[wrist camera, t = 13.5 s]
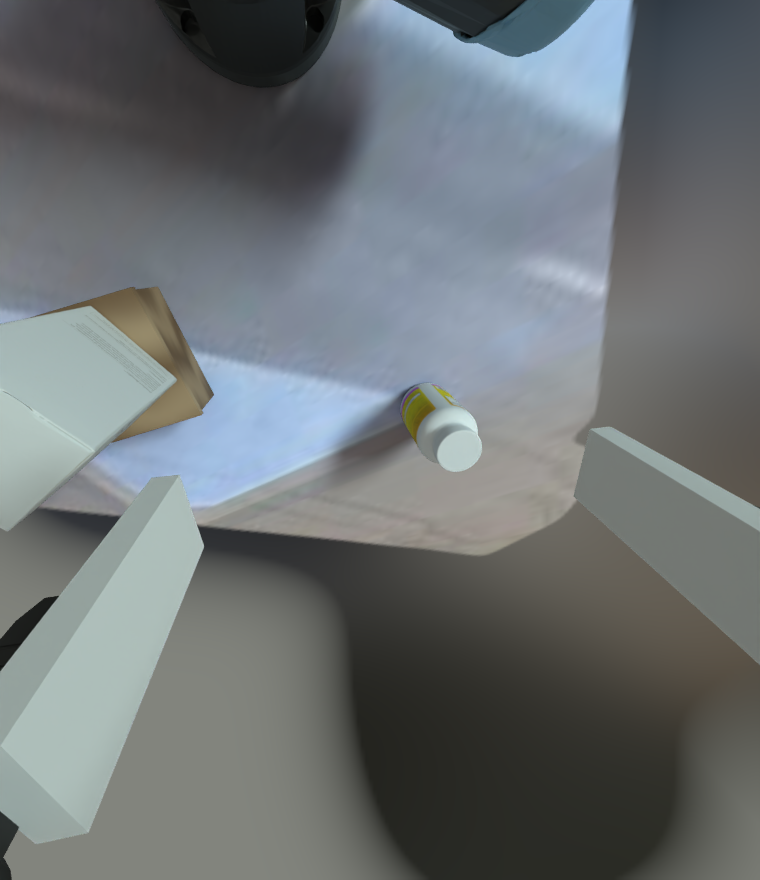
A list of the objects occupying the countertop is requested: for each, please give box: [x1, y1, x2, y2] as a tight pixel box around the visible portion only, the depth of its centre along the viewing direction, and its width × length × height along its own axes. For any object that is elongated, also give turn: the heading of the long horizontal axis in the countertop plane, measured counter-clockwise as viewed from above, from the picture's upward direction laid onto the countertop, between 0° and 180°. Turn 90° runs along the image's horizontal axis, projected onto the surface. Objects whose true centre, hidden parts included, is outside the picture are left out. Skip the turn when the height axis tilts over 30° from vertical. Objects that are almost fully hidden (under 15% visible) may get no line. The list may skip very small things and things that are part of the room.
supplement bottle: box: [400, 383, 482, 472], centre depth 41 cm, size 7×7×13 cm
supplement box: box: [0, 306, 177, 532], centre depth 27 cm, size 9×9×15 cm
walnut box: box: [31, 287, 214, 443], centre depth 36 cm, size 12×12×6 cm
